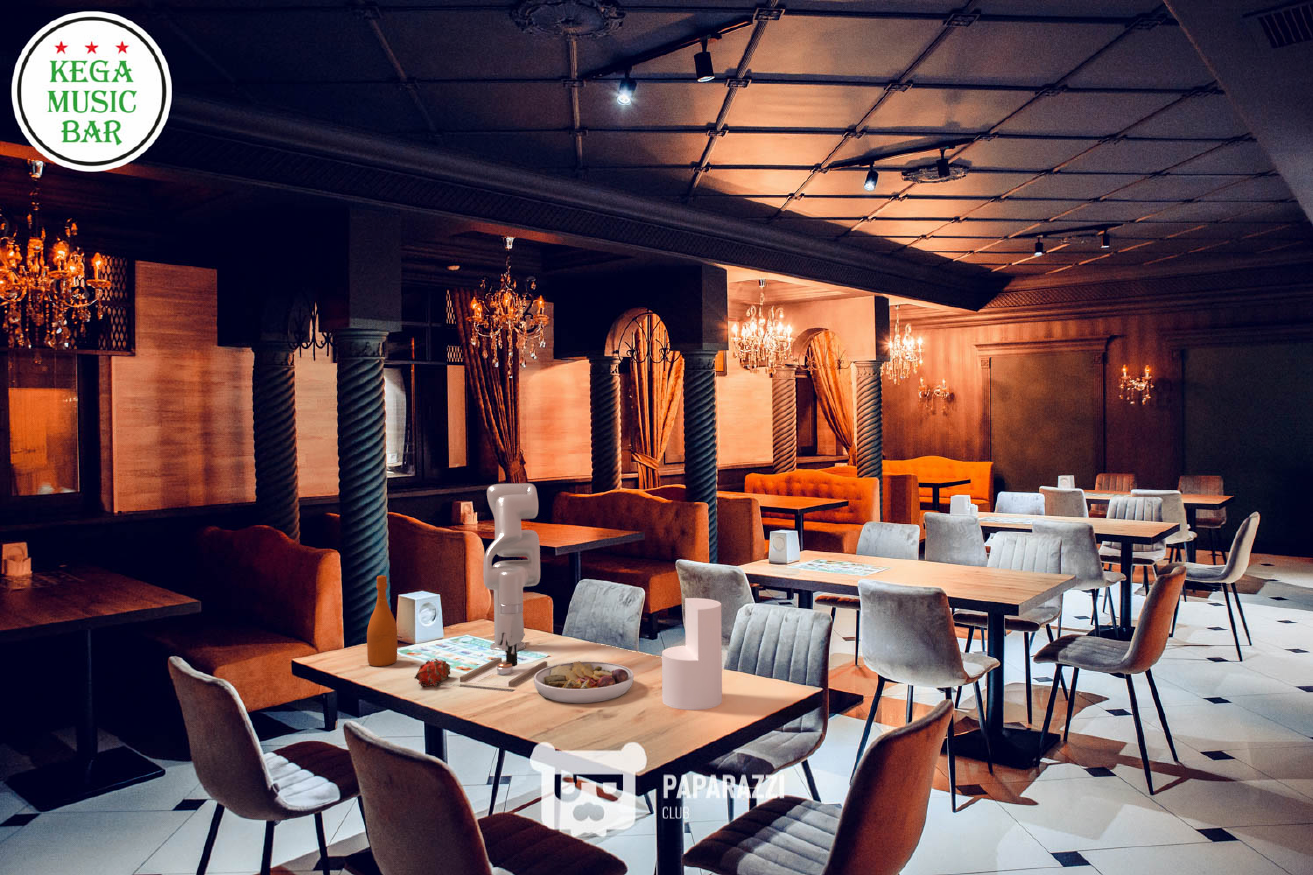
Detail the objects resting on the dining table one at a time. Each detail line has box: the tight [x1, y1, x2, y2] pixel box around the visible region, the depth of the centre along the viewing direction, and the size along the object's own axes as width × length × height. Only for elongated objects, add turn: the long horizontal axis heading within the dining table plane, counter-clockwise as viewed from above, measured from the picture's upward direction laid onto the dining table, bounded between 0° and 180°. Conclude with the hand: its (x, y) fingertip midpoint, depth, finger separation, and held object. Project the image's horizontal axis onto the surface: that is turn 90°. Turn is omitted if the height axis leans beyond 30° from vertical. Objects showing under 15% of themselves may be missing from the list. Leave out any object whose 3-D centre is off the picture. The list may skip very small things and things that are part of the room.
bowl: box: [533, 660, 635, 704], centre depth 258 cm, size 30×30×8 cm
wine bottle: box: [366, 574, 398, 667], centre depth 290 cm, size 10×10×30 cm
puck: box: [497, 661, 513, 676], centre depth 272 cm, size 5×5×3 cm
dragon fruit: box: [414, 658, 451, 688], centre depth 265 cm, size 8×8×12 cm
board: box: [459, 657, 548, 693], centre depth 271 cm, size 24×18×3 cm
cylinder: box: [661, 597, 723, 711], centre depth 247 cm, size 17×17×28 cm
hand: (511, 665), depth 275 cm, fingers closed
